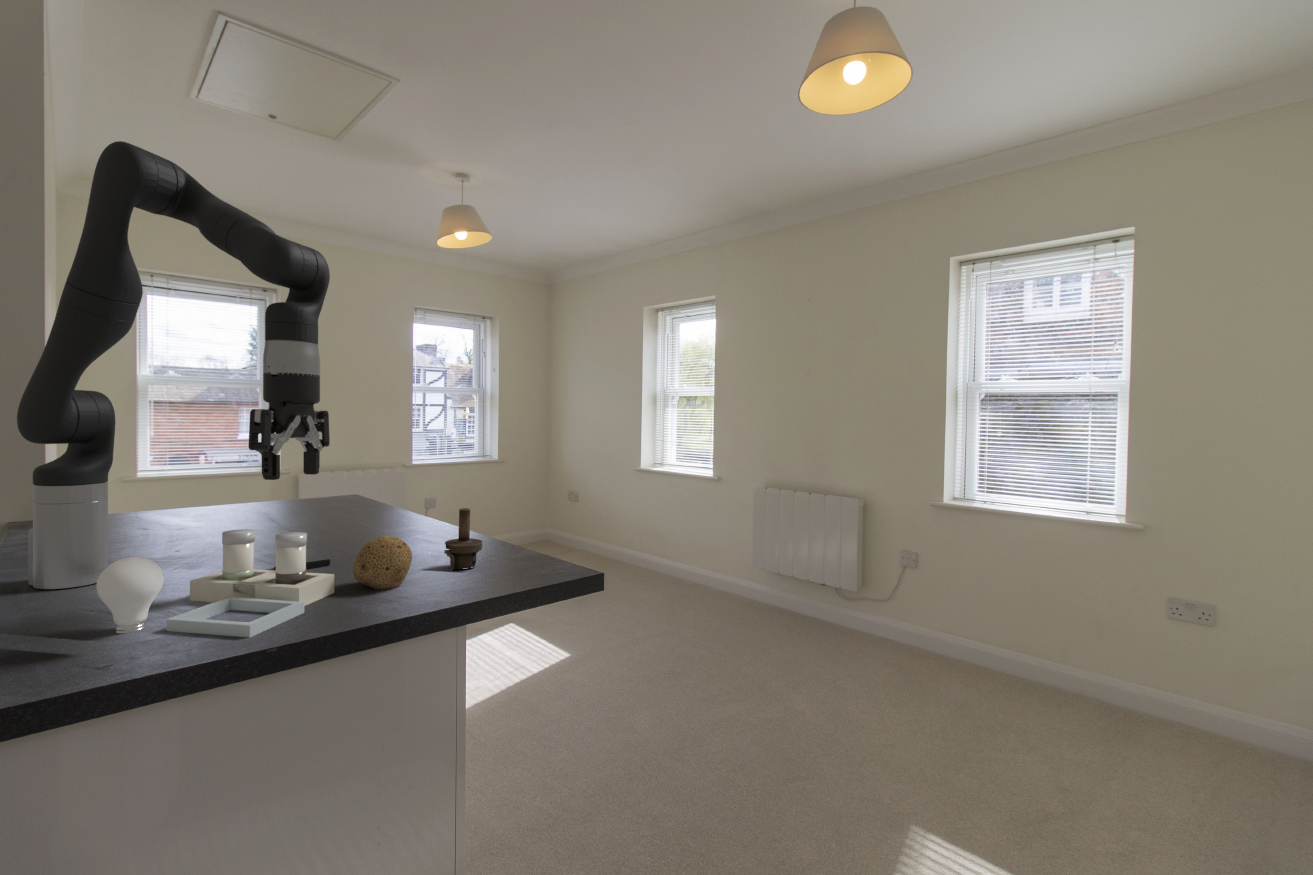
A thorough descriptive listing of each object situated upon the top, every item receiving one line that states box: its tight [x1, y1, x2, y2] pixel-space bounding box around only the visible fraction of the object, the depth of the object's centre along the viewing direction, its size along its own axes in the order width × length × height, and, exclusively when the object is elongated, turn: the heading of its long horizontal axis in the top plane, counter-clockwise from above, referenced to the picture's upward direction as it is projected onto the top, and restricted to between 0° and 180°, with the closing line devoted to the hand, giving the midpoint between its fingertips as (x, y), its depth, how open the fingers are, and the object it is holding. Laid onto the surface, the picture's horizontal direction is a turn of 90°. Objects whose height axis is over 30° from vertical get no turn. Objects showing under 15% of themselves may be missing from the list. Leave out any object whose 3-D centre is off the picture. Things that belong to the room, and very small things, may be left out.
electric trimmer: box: [265, 559, 331, 571], centre depth 108 cm, size 4×16×3 cm, turn 140°
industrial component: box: [443, 507, 483, 569], centre depth 120 cm, size 9×7×12 cm
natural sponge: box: [352, 535, 413, 590], centre depth 101 cm, size 9×9×10 cm
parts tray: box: [165, 597, 305, 638], centre depth 82 cm, size 12×10×3 cm
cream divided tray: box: [189, 568, 335, 607], centre depth 93 cm, size 18×8×4 cm, turn 83°
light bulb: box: [95, 556, 165, 634], centre depth 78 cm, size 7×7×11 cm
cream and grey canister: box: [274, 531, 308, 585], centre depth 93 cm, size 4×4×10 cm
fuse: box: [221, 528, 256, 581], centre depth 94 cm, size 4×4×10 cm
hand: (292, 476), depth 92 cm, fingers open, 8 cm apart
